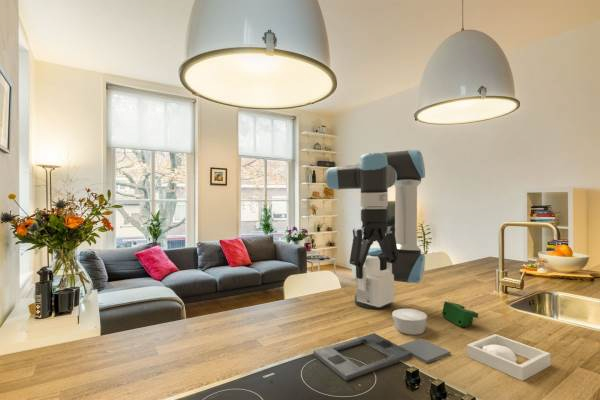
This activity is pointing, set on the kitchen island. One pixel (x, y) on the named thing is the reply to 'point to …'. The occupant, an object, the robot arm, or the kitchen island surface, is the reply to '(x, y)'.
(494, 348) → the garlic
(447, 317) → the green angular block
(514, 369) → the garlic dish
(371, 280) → the container
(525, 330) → the kitchen island surface
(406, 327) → the ramekin
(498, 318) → the kitchen island surface
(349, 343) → the flat gray rectangular frame
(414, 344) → the plate
